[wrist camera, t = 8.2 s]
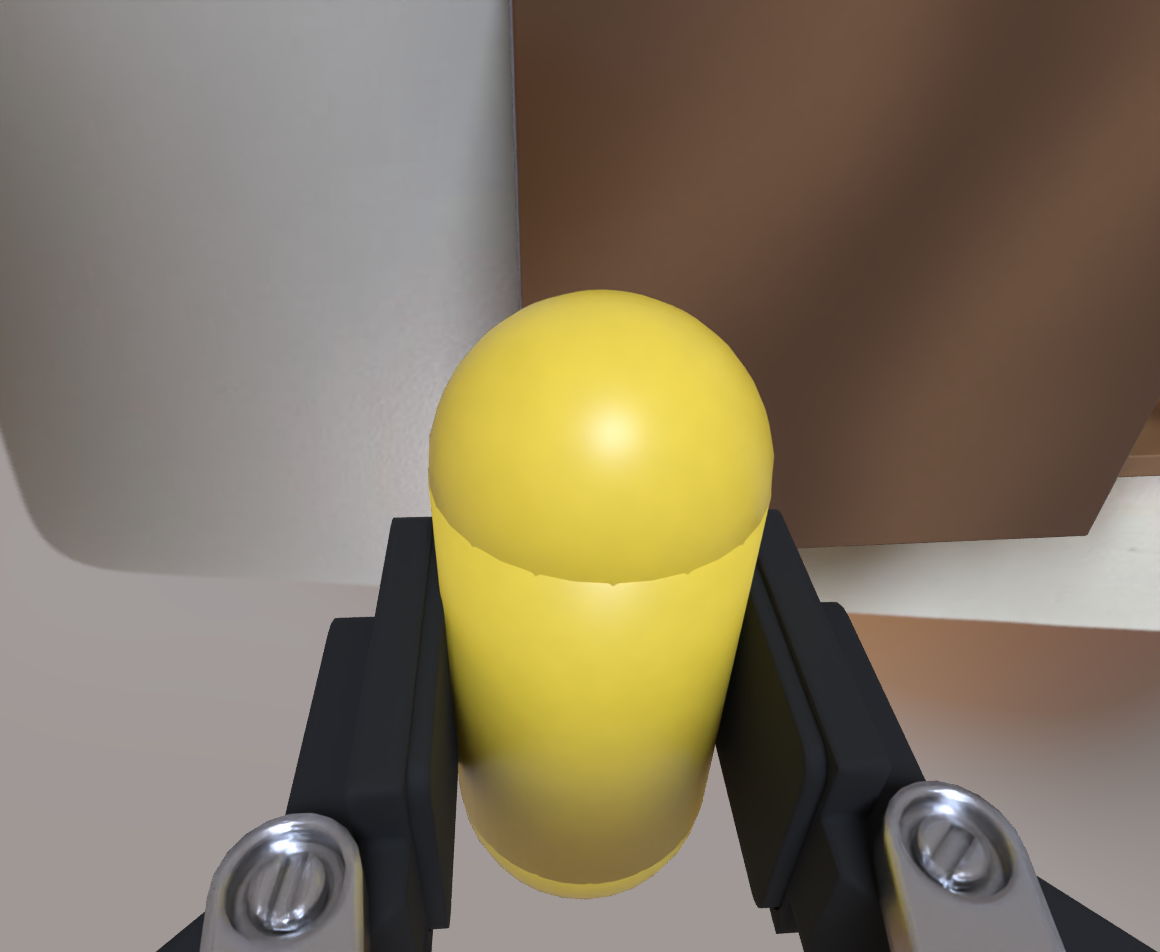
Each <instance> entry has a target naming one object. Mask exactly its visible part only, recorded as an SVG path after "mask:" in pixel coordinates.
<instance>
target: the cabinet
mask: <svg viewBox="0 0 1160 952" xmlns="http://www.w3.org/2000/svg"><path fill="white" fill-rule="evenodd" d="M509 17H510V48H511V78H512V109H513V139H514V169H515V200H516V230H517V261H518V291H519V310H521V309H523V308H525V307H527V306H529V305H531V304H533V303H536V302H539V301H542V300H545V299H548V298H552V297H556V296H560V295H564V294H568V293H573V292H577V291H586V290H618V291H625V292H632V293H636V294H641V295H644V296H647V297H650V298H653V299H656V300H659V301H662V302H664V303H667V304H670V305H672V306H675V307H677V308H679V309H681V310H683V311H685V312H687V313H688V314H690V315H692V316H693V317H695V318H696V319H698V320H699V321H700V322H701V323H703V324H704V325H705V326H707V327H708V328H709V329H710V330H712V331H713V332H714V333H715V334H717V335H718V336H719V337H720V338H721V339H722V340H723V341H724V342H725V343H726V344H727V345H728V346H729V347H730V348H731V350H732V351H733V352H734V354H735V355H736V356H737V358H738V359H739V360H740V362H741V363H742V364H743V366H744V367H745V368H746V370H747V372H748V373H749V375H750V376H751V378H752V379H753V381H754V383H755V385H756V388H757V390H758V392H759V395H760V397H761V400H762V402H763V404H764V407H765V409H766V413H767V417H768V421H769V425H770V431H771V438H772V444H773V451H774V463H773V473H772V484H771V499H770V504H769V508H768V509H777V510H779V511H780V513H781V514H782V516H783V518H784V521H785V523H786V525H787V527H788V530H789V532H790V534H791V536H792V539H793V541H794V543H795V546H796V548H814V547H837V546H860V545H883V544H906V543H929V542H952V541H975V540H998V539H1020V538H1043V537H1066V536H1086V535H1087V534H1088V533H1089V531H1090V529H1091V527H1092V525H1093V523H1094V521H1095V519H1096V517H1097V516H1098V514H1099V512H1100V510H1101V508H1102V506H1103V504H1104V502H1105V500H1106V498H1107V496H1108V495H1109V493H1110V491H1111V489H1112V487H1113V485H1114V483H1115V481H1116V479H1117V477H1118V475H1119V474H1120V472H1121V470H1122V468H1123V466H1124V464H1125V462H1126V460H1127V458H1128V456H1129V454H1130V453H1131V451H1132V449H1133V447H1134V445H1135V443H1136V441H1137V439H1138V437H1139V435H1140V433H1141V432H1142V430H1143V428H1144V426H1145V424H1146V422H1147V420H1148V418H1149V416H1150V414H1151V412H1152V411H1153V409H1154V407H1155V405H1156V403H1157V401H1158V399H1159V397H1160V0H509Z"/></svg>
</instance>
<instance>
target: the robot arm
mask: <svg viewBox="0 0 1160 952" xmlns="http://www.w3.org/2000/svg"><path fill="white" fill-rule="evenodd" d="M715 744H716V748H717V753H718V757H719V760H720V765H721V769H722V773H723V777H724V781H725V785H726V789H727V793H728V798H729V801H730V806H731V810H732V814H733V818H734V822H735V826H736V830H737V834H738V838H739V842H740V846H741V851H742V855H743V859H744V863H745V867H746V871H747V875H748V879H749V883H750V887H751V891H752V895H753V898H754V901H755V903H756V905H757V907H758V908H770V912H771V916H772V920H773V923H774V927H775V931H776V934H779V933H780V934H781V933H795V932H799V936H800V939H801V943H802V946H803V950H804V952H1156V951H1155V950H1153V949H1152V948H1150V947H1149V946H1147V945H1146V944H1144V943H1142V942H1141V941H1139V940H1138V939H1136V938H1134V937H1133V936H1131V935H1130V934H1128V933H1127V932H1125V931H1123V930H1122V929H1120V928H1119V927H1117V926H1115V925H1114V924H1112V923H1111V922H1109V921H1108V920H1106V919H1104V918H1103V917H1101V916H1099V915H1098V914H1096V913H1095V912H1093V911H1091V910H1090V909H1088V908H1087V907H1085V906H1084V905H1082V904H1081V903H1079V902H1077V901H1076V900H1074V899H1073V898H1071V897H1069V896H1068V895H1066V894H1065V893H1063V892H1062V891H1060V890H1058V889H1057V888H1055V887H1053V886H1052V885H1050V884H1049V883H1047V882H1046V881H1044V880H1042V879H1041V878H1039V877H1038V876H1036V874H1035V871H1034V868H1033V866H1032V863H1031V861H1030V858H1029V855H1028V853H1027V850H1026V848H1025V846H1024V844H1023V842H1022V841H1021V839H1020V837H1019V835H1018V833H1017V831H1016V830H1015V828H1014V827H1013V826H1012V825H1011V824H1010V822H1009V821H1008V820H1007V819H1006V818H1005V817H1004V816H1003V814H1002V813H1001V812H1000V811H999V810H998V809H996V808H995V807H994V806H993V805H991V804H990V803H989V802H987V801H986V800H984V799H983V798H982V797H980V796H979V795H977V794H975V793H973V792H971V791H969V790H966V789H964V788H962V787H960V786H958V785H954V784H949V783H945V782H939V781H926V780H925V779H924V776H923V775H922V772H921V770H920V767H919V765H918V763H917V761H916V759H915V757H914V755H913V753H912V751H911V748H910V746H909V744H908V742H907V740H906V738H905V735H904V733H903V731H902V729H901V727H900V725H899V723H898V721H897V718H896V716H895V714H894V712H893V710H892V708H891V706H890V704H889V701H888V699H887V697H886V695H885V693H884V691H883V689H882V687H881V684H880V682H879V680H878V678H877V676H876V674H875V672H874V670H873V668H872V665H871V663H870V661H869V659H868V657H867V655H866V652H865V651H864V648H863V646H862V644H861V642H860V640H859V638H858V635H857V633H856V631H855V629H854V627H853V625H852V623H851V621H850V619H849V616H848V615H847V613H846V611H845V610H844V608H843V607H842V606H841V605H840V604H839V603H837V602H820V600H819V598H818V596H817V593H816V591H815V589H814V586H813V584H812V582H811V580H810V577H809V575H808V573H807V571H806V568H805V566H804V564H803V561H802V559H801V557H800V555H799V552H798V550H797V548H796V546H795V543H794V541H793V539H792V536H791V534H790V532H789V530H788V527H787V525H786V523H785V521H784V518H783V516H782V514H781V513H780V511H779V510H777V509H768V512H767V517H766V521H765V526H764V530H763V534H762V539H761V543H760V548H759V552H758V557H757V561H756V565H755V570H754V574H753V579H752V583H751V588H750V592H749V597H748V601H747V605H746V610H745V614H744V619H743V623H742V628H741V632H740V637H739V641H738V645H737V650H736V654H735V659H734V663H733V668H732V672H731V676H730V681H729V685H728V690H727V694H726V699H725V703H724V708H723V712H722V716H721V721H720V725H719V730H718V734H717V739H716V743H715ZM458 762H459V759H458V749H457V739H456V729H455V719H454V709H453V699H452V689H451V679H450V669H449V659H448V649H447V639H446V629H445V619H444V609H443V603H442V599H441V595H440V589H439V579H438V569H437V559H436V550H435V540H434V530H433V520H432V517H404V518H393V520H392V523H391V528H390V533H389V539H388V545H387V550H386V556H385V562H384V567H383V573H382V579H381V584H380V590H379V596H378V601H377V607H376V613H375V617H353V618H335V619H334V620H333V622H332V623H331V626H330V629H329V632H328V636H327V640H326V644H325V649H324V653H323V657H322V662H321V666H320V670H319V674H318V678H317V683H316V687H315V691H314V695H313V700H312V704H311V708H310V713H309V717H308V721H307V725H306V730H305V734H304V738H303V742H302V746H301V750H300V755H299V759H298V764H297V767H296V772H295V776H294V780H293V784H292V789H291V793H290V797H289V802H288V806H287V810H286V814H285V816H282V817H279V818H276V819H273V820H269V821H267V822H265V823H263V824H262V825H261V826H259V827H257V828H255V829H254V830H252V831H251V832H249V833H247V834H246V835H245V836H244V837H243V838H241V840H240V841H239V842H237V843H236V844H235V846H233V847H232V848H231V849H230V850H229V851H228V852H227V854H226V856H225V857H224V859H223V860H222V862H221V863H220V865H219V867H218V868H217V870H216V872H215V873H214V875H213V879H212V882H211V886H210V889H209V892H208V896H207V901H206V909H205V912H204V913H203V914H201V915H200V916H199V917H198V918H197V919H196V920H194V921H193V922H192V923H190V924H189V925H188V926H187V927H186V928H184V929H183V930H182V931H181V932H180V933H178V934H177V935H176V936H175V937H174V938H172V939H171V940H170V941H169V942H167V943H166V944H165V945H164V946H162V947H161V948H160V949H159V950H158V951H156V952H431V951H432V936H433V929H443V928H449V925H450V914H451V896H452V877H453V858H454V839H455V819H456V800H457V781H458Z"/></svg>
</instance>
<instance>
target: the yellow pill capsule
mask: <svg viewBox="0 0 1160 952" xmlns="http://www.w3.org/2000/svg"><path fill="white" fill-rule="evenodd" d="M773 463H774V451H773V444H772V438H771V431H770V425H769V421H768V417H767V413H766V409H765V407H764V404H763V402H762V400H761V397H760V395H759V392H758V390H757V388H756V385H755V383H754V381H753V379H752V378H751V376H750V375H749V373H748V372H747V370H746V368H745V367H744V366H743V364H742V363H741V362H740V360H739V359H738V358H737V356H736V355H735V354H734V352H733V351H732V350H731V348H730V347H729V346H728V345H727V344H726V343H725V342H724V341H723V340H722V339H721V338H720V337H719V336H718V335H717V334H715V333H714V332H713V331H712V330H710V329H709V328H708V327H707V326H705V325H704V324H703V323H701V322H700V321H699V320H698V319H696V318H695V317H693V316H692V315H690V314H688V313H687V312H685V311H683V310H681V309H679V308H677V307H675V306H672V305H670V304H667V303H664V302H662V301H659V300H656V299H653V298H650V297H647V296H644V295H641V294H636V293H632V292H625V291H618V290H586V291H577V292H573V293H568V294H564V295H560V296H556V297H552V298H548V299H545V300H542V301H539V302H536V303H533V304H531V305H529V306H527V307H525V308H523V309H521V310H519V311H518V312H516V313H515V314H513V315H511V316H510V317H508V318H507V319H505V320H503V321H502V322H500V323H499V324H497V325H496V326H495V327H493V328H492V329H491V330H490V331H488V332H487V333H486V334H485V335H484V336H483V337H482V338H481V339H480V340H479V341H478V342H477V343H476V345H475V346H474V347H473V348H472V349H471V350H470V351H469V352H468V353H467V354H466V356H465V357H464V358H463V360H462V361H461V362H460V363H459V365H458V366H457V368H456V369H455V371H454V373H453V375H452V377H451V378H450V380H449V382H448V384H447V386H446V387H445V389H444V391H443V394H442V396H441V399H440V402H439V405H438V407H437V411H436V414H435V418H434V422H433V425H432V429H431V433H430V440H429V468H428V478H429V491H430V501H431V511H432V520H433V530H434V540H435V550H436V559H437V569H438V579H439V589H440V595H441V599H442V603H443V609H444V619H445V629H446V639H447V649H448V659H449V669H450V679H451V689H452V699H453V709H454V719H455V729H456V739H457V749H458V759H459V762H458V774H459V784H460V789H461V794H462V798H463V802H464V804H465V808H466V812H467V815H468V818H469V821H470V823H471V825H472V827H473V829H474V831H475V833H476V834H477V837H478V839H479V841H480V842H481V843H482V844H483V845H484V847H485V848H486V849H487V851H488V852H489V853H490V854H491V855H492V857H493V858H494V859H495V860H496V861H497V862H498V864H499V865H500V866H501V867H502V868H504V869H505V870H506V871H507V872H509V873H510V874H511V875H512V876H514V877H515V878H516V879H517V880H519V881H520V882H522V883H524V884H526V885H528V886H530V887H532V888H534V889H536V890H538V891H541V892H544V893H548V894H551V895H555V896H559V897H562V898H576V899H592V898H599V897H607V896H612V895H615V894H618V893H620V892H624V891H626V890H629V889H632V888H634V887H636V886H637V885H639V884H640V883H642V882H644V881H645V880H647V879H648V878H650V877H652V876H653V875H654V874H655V873H657V872H658V871H659V870H660V869H661V868H662V867H663V866H664V865H665V864H666V863H667V862H668V861H669V860H670V859H671V858H672V857H674V856H675V855H676V854H677V852H678V851H679V849H680V847H681V846H682V844H683V843H684V842H685V840H686V839H687V837H688V835H689V834H690V831H691V829H692V827H693V824H694V822H695V819H696V817H697V815H698V813H699V810H700V808H701V804H702V801H703V796H704V792H705V787H706V783H707V779H708V774H709V770H710V765H711V761H712V756H713V752H714V747H715V743H716V739H717V734H718V730H719V725H720V721H721V716H722V712H723V708H724V703H725V699H726V694H727V690H728V685H729V681H730V676H731V672H732V668H733V663H734V659H735V654H736V650H737V645H738V641H739V637H740V632H741V628H742V623H743V619H744V614H745V610H746V605H747V601H748V597H749V592H750V588H751V583H752V579H753V574H754V570H755V565H756V561H757V557H758V552H759V548H760V543H761V539H762V534H763V530H764V526H765V521H766V517H767V512H768V508H769V504H770V499H771V484H772V473H773Z"/></svg>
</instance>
